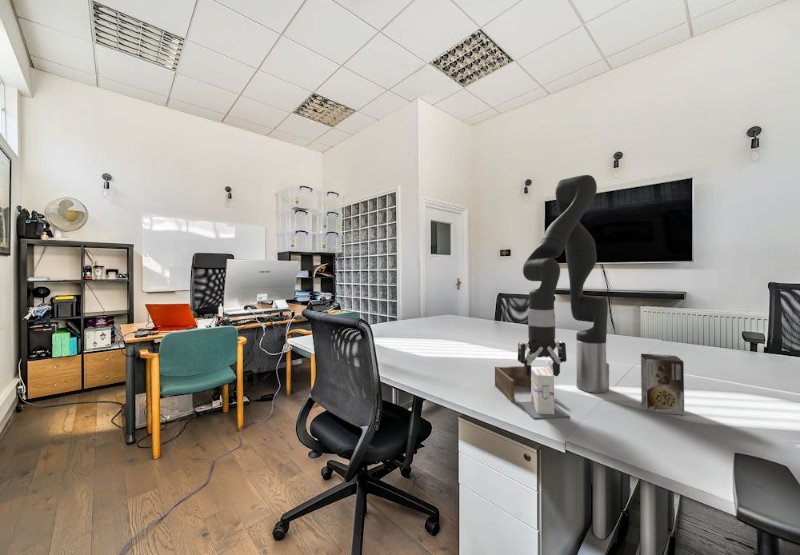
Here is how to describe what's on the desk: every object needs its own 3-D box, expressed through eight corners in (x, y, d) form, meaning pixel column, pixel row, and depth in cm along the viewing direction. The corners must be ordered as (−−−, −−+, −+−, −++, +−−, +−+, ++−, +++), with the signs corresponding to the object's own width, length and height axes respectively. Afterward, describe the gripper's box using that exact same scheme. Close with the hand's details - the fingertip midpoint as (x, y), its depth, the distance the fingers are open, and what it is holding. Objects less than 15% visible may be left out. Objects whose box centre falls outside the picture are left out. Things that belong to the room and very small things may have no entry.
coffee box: (676, 407, 98) (676, 355, 98) (685, 416, 92) (685, 361, 92) (640, 402, 102) (640, 352, 102) (646, 411, 96) (646, 357, 96)
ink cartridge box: (530, 402, 103) (529, 357, 102) (546, 403, 102) (546, 357, 102) (537, 414, 94) (536, 365, 94) (555, 415, 93) (554, 365, 93)
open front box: (531, 384, 120) (531, 365, 120) (552, 400, 105) (552, 379, 105) (494, 385, 119) (494, 367, 119) (511, 402, 104) (511, 381, 104)
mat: (550, 401, 104) (550, 400, 104) (570, 417, 93) (570, 416, 93) (517, 403, 103) (517, 402, 103) (533, 419, 92) (533, 417, 92)
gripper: (557, 320, 102) (557, 371, 102) (513, 322, 101) (514, 373, 101) (571, 324, 94) (571, 379, 94) (524, 326, 93) (524, 381, 94)
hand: (542, 376), depth 98 cm, fingers open, 8 cm apart
